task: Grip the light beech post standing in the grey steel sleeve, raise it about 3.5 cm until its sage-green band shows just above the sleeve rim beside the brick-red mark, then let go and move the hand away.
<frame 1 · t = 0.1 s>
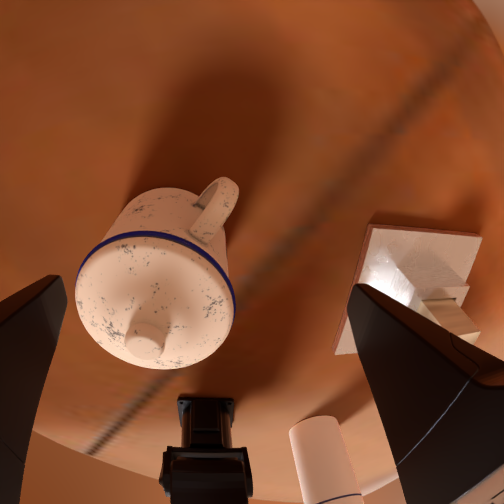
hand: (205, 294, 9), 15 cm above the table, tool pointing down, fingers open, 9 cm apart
cylindrical container: (313, 427, 40), on the table
sleeve stand: (409, 291, 29), on the table
teacup with lid: (180, 224, 24), on the table
post: (434, 323, 25), point 5 cm above the table, slide at 0.0 cm
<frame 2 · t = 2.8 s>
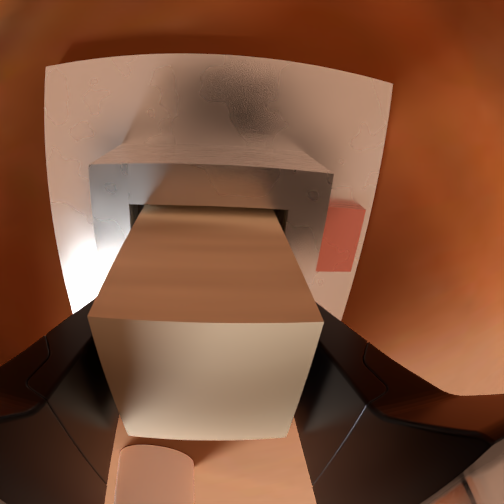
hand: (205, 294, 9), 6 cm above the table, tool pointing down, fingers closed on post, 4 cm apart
cylindrical container: (156, 459, 24), on the table
sleeve stand: (208, 220, 14), on the table
post: (206, 286, 9), point 5 cm above the table, slide at 0.0 cm, touching gripper
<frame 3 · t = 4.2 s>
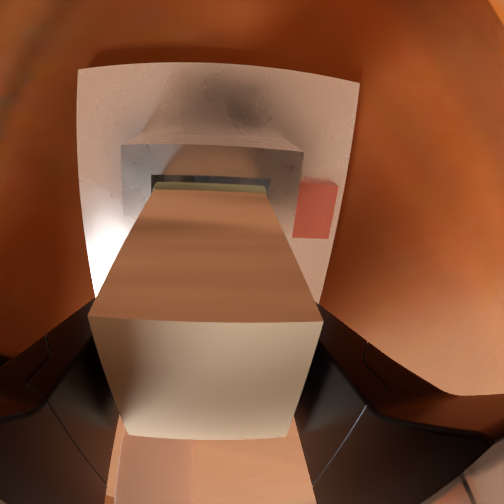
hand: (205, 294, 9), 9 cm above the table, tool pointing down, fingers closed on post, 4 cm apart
cylindrical container: (158, 430, 27), on the table
sleeve stand: (209, 196, 17), on the table
post: (206, 286, 9), point 8 cm above the table, slide at 3.4 cm, touching gripper
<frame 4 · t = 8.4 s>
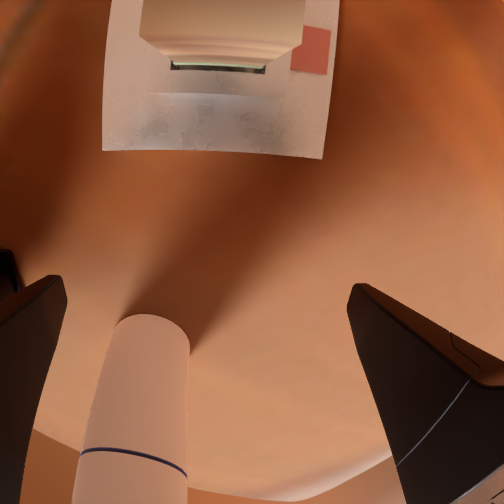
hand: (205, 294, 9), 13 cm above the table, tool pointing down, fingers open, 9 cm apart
cylindrical container: (151, 343, 27), on the table
sleeve stand: (220, 42, 16), on the table
post: (223, 7, 9), point 9 cm above the table, slide at 3.4 cm
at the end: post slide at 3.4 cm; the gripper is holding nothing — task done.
